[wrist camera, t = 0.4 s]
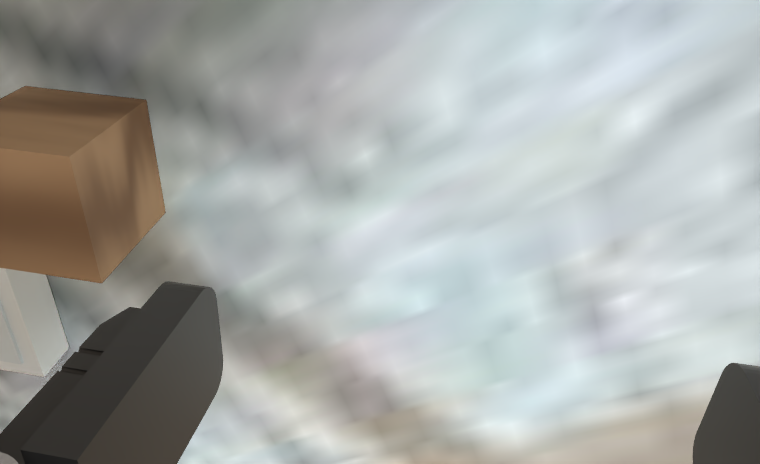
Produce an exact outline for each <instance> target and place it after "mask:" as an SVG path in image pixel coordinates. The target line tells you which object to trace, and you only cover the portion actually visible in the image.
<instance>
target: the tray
mask: <svg viewBox="0 0 760 464" xmlns="http://www.w3.org/2000/svg"><path fill="white" fill-rule="evenodd" d="M68 348H69V345H68V342H67V339H66V336H65V333H64V329H63V326H62V323H61V320H60V317H59V314H58V310H57V307H56V304H55V301H54V298H53V295H52V292H51V288H50V285H49V282H48V279H47V276H46V275H44V274H38V273H31V272H25V271H18V270H12V269H5V268H0V369H1V370H6V371H12V372H18V373H24V374H29V375H35V376H41V377H45V375H46V374H47V373H48V372H49V371H50V370H51V368H52V367H53V366H54V365H55V364H56V363H57V361H58V360H59V359H60V358H61V357H62V356H63V354H64V353H65V352H66V351H67V350H68Z"/></svg>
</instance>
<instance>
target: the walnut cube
mask: <svg viewBox="0 0 760 464" xmlns="http://www.w3.org/2000/svg"><path fill="white" fill-rule="evenodd" d="M165 213H166V212H165V206H164V200H163V194H162V189H161V183H160V177H159V171H158V165H157V159H156V154H155V148H154V142H153V136H152V130H151V124H150V118H149V113H148V107H147V101H146V100H144V99H135V98H126V97H117V96H108V95H99V94H90V93H82V92H73V91H64V90H55V89H46V88H37V87H29V86H24V87H22V88H20V89H19V90H17V91H15V92H13V93H11V94H9V95H7V96H5V97H3V98H1V99H0V268H5V269H12V270H18V271H25V272H31V273H38V274H44V275H51V276H58V277H64V278H71V279H77V280H84V281H90V282H97V283H103V282H104V280H105V279H106V278H107V277H108V276H109V275H110V274H111V273H112V272H113V270H114V269H115V268H116V267H117V266H118V265H119V264H120V263H121V262H122V260H123V259H124V258H125V257H126V256H127V255H128V254H129V253H130V252H131V250H132V249H133V248H134V247H135V246H136V245H137V244H138V243H139V242H140V240H141V239H142V238H143V237H144V236H145V235H146V234H147V233H148V232H149V230H150V229H151V228H152V227H153V226H154V225H155V224H156V223H157V222H158V220H159V219H160V218H161V217H162V216H163V215H164V214H165Z"/></svg>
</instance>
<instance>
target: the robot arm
mask: <svg viewBox="0 0 760 464" xmlns="http://www.w3.org/2000/svg"><path fill="white" fill-rule="evenodd" d="M79 348H80V349H79V352H75V353H74V354H73V355H72V356H71V357H70V358H69V359H68V361H67V362H66V363H65V364H64V365H63V366H62V370H61V372H58V371H57V373H56V374H55V375H54V376H53V377H52V378H51V379H50V380H49V381H48V382H47V383H46V385H45V386H44V387H43V388H42V389H41V390H40V391H39V392H38V393H37V394H36V395H35V397H34V398H33V399H32V400H31V401H30V402H29V403H28V404H27V405H26V406H25V407H24V409H23V410H22V411H21V412H20V413H19V414H18V415H17V416H16V417H15V418H14V419H13V421H12V422H11V423H10V424H9V425H8V426H7V427H6V428H5V429H4V430H3V432H2V433H1V434H0V464H177V463H178V461H179V459H180V457H181V456H182V454H183V452H184V450H185V448H186V447H187V445H188V443H189V441H190V440H191V438H192V436H193V434H194V432H195V431H196V429H197V427H198V425H199V424H200V422H201V420H202V418H203V416H204V415H205V413H206V411H207V409H208V408H209V406H210V404H211V402H212V400H213V399H214V397H215V395H216V392H217V390H218V387H219V384H220V380H221V376H222V370H223V354H222V344H221V335H220V326H219V316H218V307H217V299H216V294H215V292H214V290H213V289H212V288H210V287H204V286H197V285H190V284H183V283H176V282H165V283H163V284H162V285H161V286H160V287H159V288H158V289H157V290H156V291H155V293H154V294H153V295H152V296H151V297H150V298H149V300H148V301H147V302H146V303H145V304H144V305H143V307H142V308H141V309H139V308H132V307H129V308H127V309H126V310H124V311H122V312H121V313H119V314H117V315H116V316H114V317H112V318H111V319H109V320H107V321H106V322H104V323H102V324H101V325H100V326H99V327H98V328H97V329H96V330H95V331H94V332H93V333H92V334H91V335H90V336H89V338H88V339H87V340H86V341H85V342H84V343H83V344H82V345H81V346H80V347H79ZM693 464H760V367H759V366H752V365H745V364H738V363H731V364H729V365H728V366H726V368H725V369H724V370H723V372H722V374H721V377H720V379H719V381H718V384H717V386H716V388H715V391H714V393H713V395H712V398H711V400H710V402H709V405H708V407H707V410H706V412H705V414H704V417H703V419H702V421H701V424H700V426H699V428H698V431H697V433H696V436H695V440H694V446H693Z"/></svg>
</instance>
